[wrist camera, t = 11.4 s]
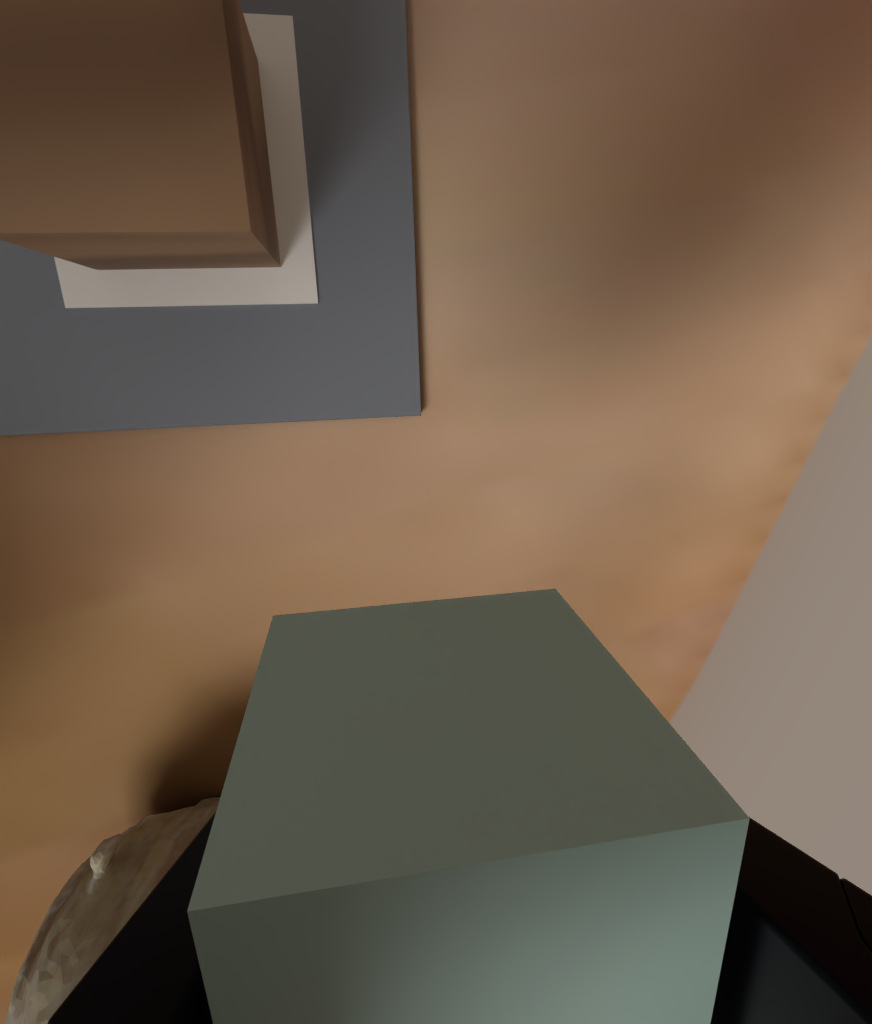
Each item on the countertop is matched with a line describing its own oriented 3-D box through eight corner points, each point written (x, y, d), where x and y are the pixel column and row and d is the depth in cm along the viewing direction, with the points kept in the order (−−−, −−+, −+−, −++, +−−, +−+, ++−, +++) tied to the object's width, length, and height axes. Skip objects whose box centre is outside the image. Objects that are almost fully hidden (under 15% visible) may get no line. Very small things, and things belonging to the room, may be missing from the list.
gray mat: (419, 414, 18) (421, 415, 17) (-9, 434, 16) (-17, 437, 16) (398, -138, 14) (400, -151, 13) (-185, -194, 12) (-203, -212, 11)
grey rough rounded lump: (294, 849, 25) (320, 1166, 18) (90, 900, 23) (15, 1300, 15) (292, 733, 20) (327, 1111, 12) (26, 781, 17) (-139, 1301, 10)
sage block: (546, 804, 10) (687, 1138, 6) (303, 841, 9) (263, 1245, 5) (555, 589, 9) (749, 818, 4) (273, 616, 8) (186, 911, 4)
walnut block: (280, 267, 15) (250, 231, 11) (97, 270, 15) (-22, 233, 10) (258, 60, 14) (211, -86, 9) (52, 52, 13) (-112, -110, 9)
